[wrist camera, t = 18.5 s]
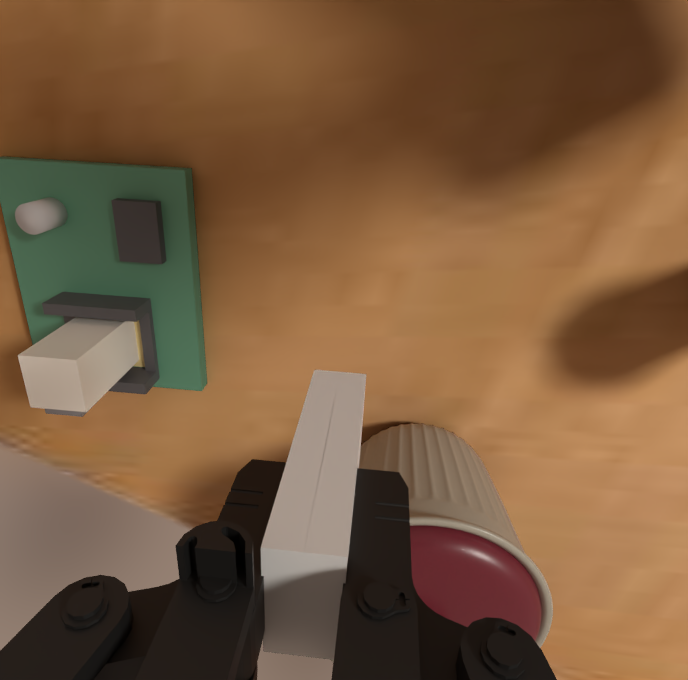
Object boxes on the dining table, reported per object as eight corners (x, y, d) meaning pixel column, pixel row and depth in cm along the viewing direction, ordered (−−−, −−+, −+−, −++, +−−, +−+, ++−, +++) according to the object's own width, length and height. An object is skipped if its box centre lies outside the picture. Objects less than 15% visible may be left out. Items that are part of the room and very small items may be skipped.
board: (3, 156, 42) (-39, 161, 38) (191, 168, 41) (169, 174, 37) (49, 369, 51) (19, 392, 47) (207, 383, 50) (190, 407, 46)
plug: (84, 311, 46) (17, 355, 38) (133, 315, 46) (76, 360, 37) (93, 363, 48) (32, 415, 40) (140, 367, 48) (88, 421, 40)
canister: (545, 465, 50) (638, 685, 31) (420, 561, 57) (434, 790, 38) (407, 356, 47) (416, 529, 28) (291, 473, 53) (234, 676, 34)
